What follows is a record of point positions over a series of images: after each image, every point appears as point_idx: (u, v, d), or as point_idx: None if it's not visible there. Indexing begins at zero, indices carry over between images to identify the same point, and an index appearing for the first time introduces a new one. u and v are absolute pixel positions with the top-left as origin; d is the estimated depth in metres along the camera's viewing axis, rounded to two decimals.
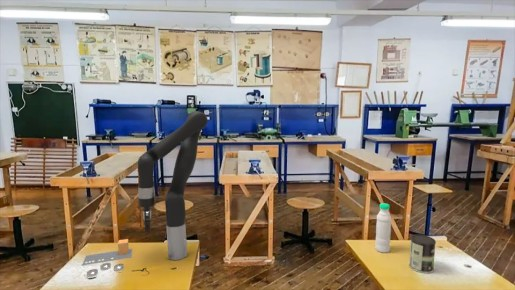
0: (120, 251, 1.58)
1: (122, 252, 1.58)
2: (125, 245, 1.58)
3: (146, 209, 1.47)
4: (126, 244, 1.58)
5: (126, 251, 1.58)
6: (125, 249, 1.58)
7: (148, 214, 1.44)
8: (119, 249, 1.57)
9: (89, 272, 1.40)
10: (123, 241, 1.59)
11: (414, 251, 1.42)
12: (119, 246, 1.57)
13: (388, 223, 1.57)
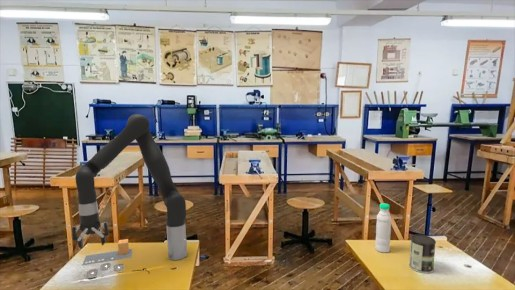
0: (120, 251, 1.58)
1: (122, 252, 1.58)
2: (125, 245, 1.58)
3: (99, 222, 1.39)
4: (126, 244, 1.58)
5: (126, 251, 1.58)
6: (125, 249, 1.58)
7: (107, 224, 1.41)
8: (119, 249, 1.57)
9: (89, 272, 1.40)
10: (123, 241, 1.59)
11: (414, 251, 1.42)
12: (119, 246, 1.57)
13: (388, 223, 1.57)
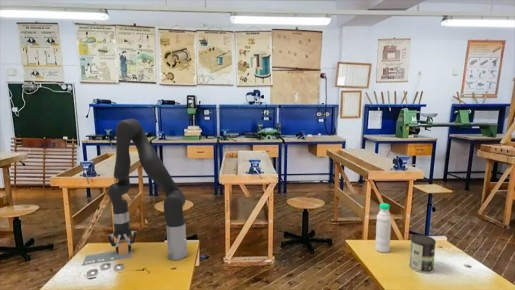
0: (120, 251, 1.58)
1: (122, 252, 1.58)
2: (125, 245, 1.58)
3: (130, 229, 1.60)
4: (126, 244, 1.58)
5: (126, 251, 1.58)
6: (125, 249, 1.58)
7: None
8: (119, 249, 1.57)
9: (89, 272, 1.40)
10: (123, 241, 1.59)
11: (414, 251, 1.42)
12: (119, 246, 1.57)
13: (388, 223, 1.57)
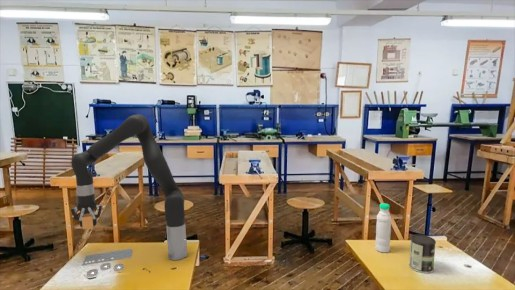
0: (84, 225, 1.50)
1: (86, 226, 1.51)
2: (89, 219, 1.51)
3: (95, 203, 1.53)
4: (90, 218, 1.51)
5: (91, 225, 1.51)
6: (89, 224, 1.51)
7: None
8: (83, 223, 1.50)
9: (89, 272, 1.40)
10: (88, 215, 1.52)
11: (414, 251, 1.42)
12: (83, 220, 1.50)
13: (388, 223, 1.57)
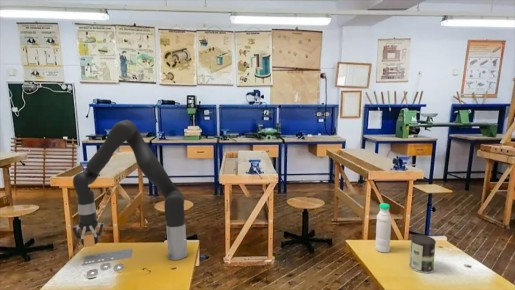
0: (86, 243, 1.52)
1: (88, 244, 1.52)
2: (91, 237, 1.52)
3: (96, 221, 1.54)
4: (92, 236, 1.52)
5: (92, 243, 1.53)
6: (91, 242, 1.52)
7: None
8: (84, 241, 1.51)
9: (89, 272, 1.40)
10: (89, 233, 1.54)
11: (414, 251, 1.42)
12: (84, 238, 1.51)
13: (388, 223, 1.57)
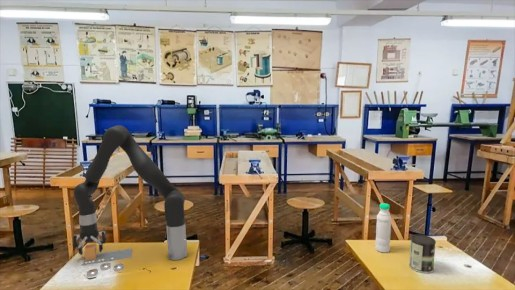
0: (87, 256, 1.53)
1: (89, 257, 1.53)
2: (92, 250, 1.53)
3: (97, 231, 1.55)
4: (93, 249, 1.53)
5: (93, 256, 1.54)
6: (92, 254, 1.53)
7: (104, 232, 1.57)
8: (86, 254, 1.52)
9: (89, 272, 1.40)
10: (90, 246, 1.55)
11: (414, 251, 1.42)
12: (86, 251, 1.52)
13: (388, 223, 1.57)
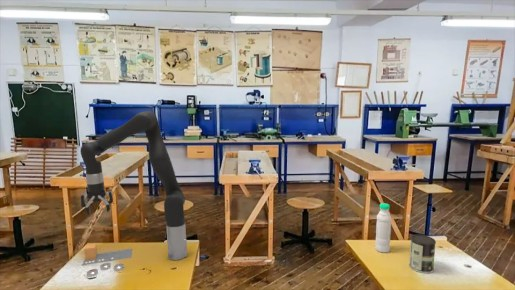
0: (87, 256, 1.53)
1: (89, 257, 1.53)
2: (92, 250, 1.53)
3: (104, 191, 1.57)
4: (93, 249, 1.53)
5: (93, 256, 1.54)
6: (92, 254, 1.53)
7: (111, 193, 1.59)
8: (86, 254, 1.52)
9: (89, 272, 1.40)
10: (90, 246, 1.55)
11: (414, 251, 1.42)
12: (86, 251, 1.52)
13: (388, 223, 1.57)
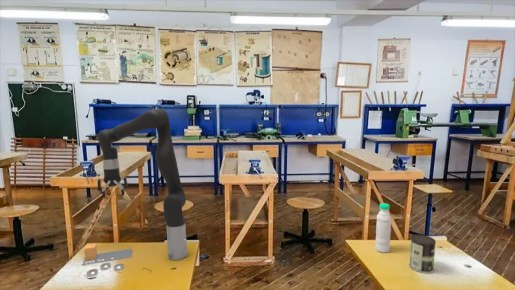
0: (87, 256, 1.53)
1: (89, 257, 1.53)
2: (92, 250, 1.53)
3: (119, 176, 1.65)
4: (93, 249, 1.53)
5: (93, 256, 1.54)
6: (92, 254, 1.53)
7: (126, 178, 1.67)
8: (86, 254, 1.52)
9: (89, 272, 1.40)
10: (90, 246, 1.55)
11: (414, 251, 1.42)
12: (86, 251, 1.52)
13: (388, 223, 1.57)
